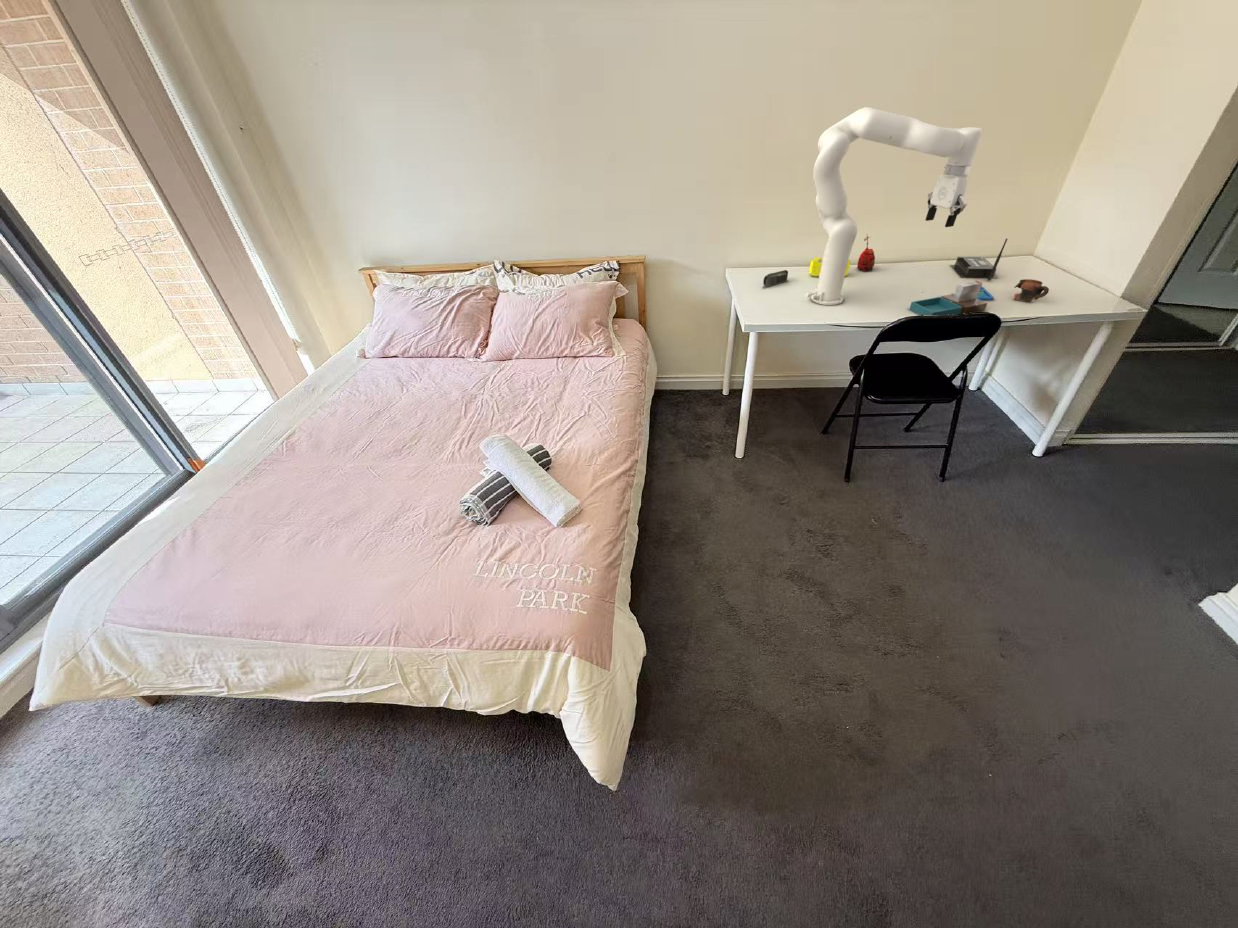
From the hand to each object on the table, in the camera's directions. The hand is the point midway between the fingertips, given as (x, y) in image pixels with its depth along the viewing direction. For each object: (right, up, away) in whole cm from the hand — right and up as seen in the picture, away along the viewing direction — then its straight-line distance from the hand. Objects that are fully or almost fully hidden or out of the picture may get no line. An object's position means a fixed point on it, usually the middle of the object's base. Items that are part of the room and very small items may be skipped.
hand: (938, 223), depth 182 cm
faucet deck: (+15, -28, +9) cm, 33 cm away
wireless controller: (+39, -5, +35) cm, 52 cm away
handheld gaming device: (+27, -20, +19) cm, 38 cm away
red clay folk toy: (-5, +1, +46) cm, 46 cm away
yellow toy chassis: (-23, -3, +43) cm, 49 cm away
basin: (+3, -31, +7) cm, 32 cm away
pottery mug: (+43, -24, +12) cm, 50 cm away
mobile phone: (-49, -9, +38) cm, 63 cm away
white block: (+15, -26, +7) cm, 31 cm away
